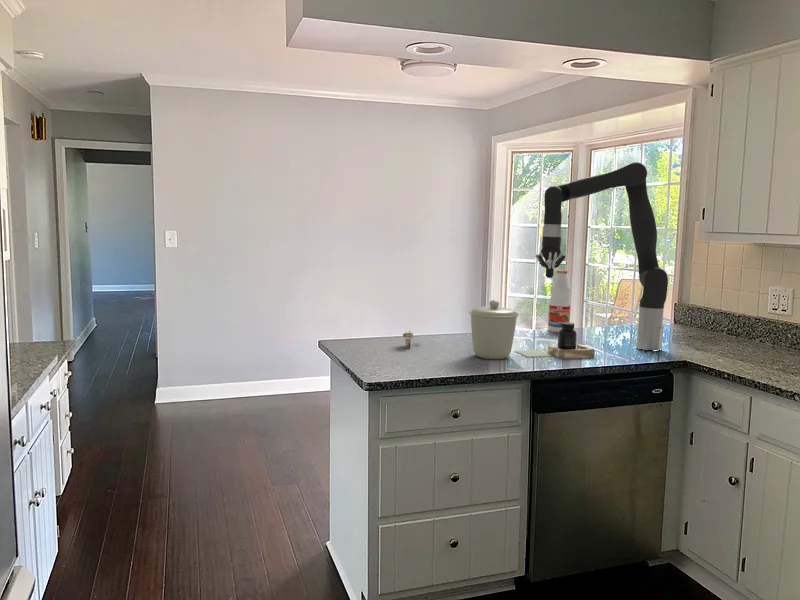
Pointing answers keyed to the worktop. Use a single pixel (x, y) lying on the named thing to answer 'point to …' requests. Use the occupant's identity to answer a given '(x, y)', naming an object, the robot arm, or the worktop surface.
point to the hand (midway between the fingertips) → (549, 277)
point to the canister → (493, 330)
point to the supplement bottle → (567, 336)
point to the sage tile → (534, 353)
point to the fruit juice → (559, 302)
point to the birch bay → (571, 352)
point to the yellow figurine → (408, 338)
